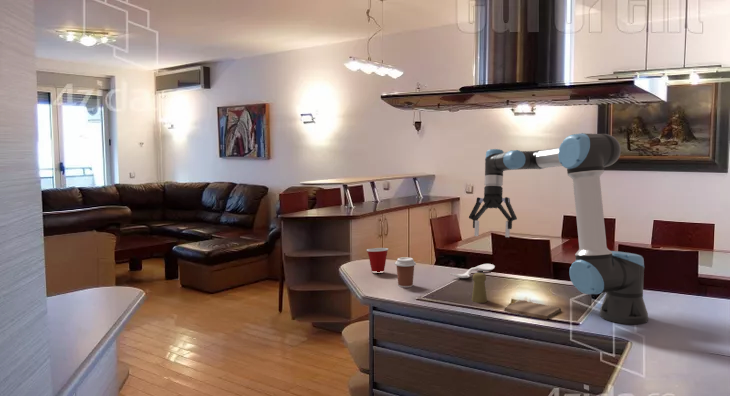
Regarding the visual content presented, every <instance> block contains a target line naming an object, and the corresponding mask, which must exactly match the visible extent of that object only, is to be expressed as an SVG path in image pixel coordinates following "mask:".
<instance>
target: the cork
mask: <svg viewBox="0 0 730 396" xmlns="http://www.w3.org/2000/svg"><path fill="white" fill-rule="evenodd" d="M486 280H487V276H486V274H485V273H483V272H475V273H473V275H472V281H473V286H472V293H471V295H472V296H471V300H472V301H471V302H472V303H478V304H480V303H481V304H482V303H487V301H488V298H487V291H486V282H485V281H486Z"/></svg>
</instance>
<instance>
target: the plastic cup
mask: <svg viewBox="0 0 730 396" xmlns="http://www.w3.org/2000/svg"><path fill="white" fill-rule="evenodd" d="M388 251H389V248H388V247H387V248H386V247H376V248H375V247H374V248H367V249H366V252H367V254H368V258H369V265H370V268H371V272H372V271H377V272H380V271H384V272H385V267H386V263H387V255H388Z"/></svg>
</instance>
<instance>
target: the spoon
mask: <svg viewBox="0 0 730 396" xmlns="http://www.w3.org/2000/svg"><path fill="white" fill-rule="evenodd" d="M495 267H496V265H494V264H493V263H492V264H491V263H483V264H480V265H477V266H475V267H471V268H469V269H468V270H466V272H464V273H453V272H449V275H450V276H453V277H456V278H461V279H468V278H470V277H471V276H470V273H471V272H472V271H476V270H478V271H480V272H488V271H492V270H494V269H495Z"/></svg>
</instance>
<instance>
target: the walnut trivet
mask: <svg viewBox="0 0 730 396" xmlns="http://www.w3.org/2000/svg"><path fill="white" fill-rule="evenodd" d="M503 311H504V312H507V313H513V314H516V315H523V316H526V317H527V316H528V317H532V318H537V319H543V320H548V319H550V318H552V317H553V316H554V315H555V316H556V314H558V313H560V312H562V307H559V306H553V305H547V304H543V303H539V302H538V303H537V302H536V303H535V302H534V301H533V302H532V301H527V300H521V299H519V300H518V301H515V302H513V303H511V304H509V305H507V306H505V307H504V308H503Z"/></svg>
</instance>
